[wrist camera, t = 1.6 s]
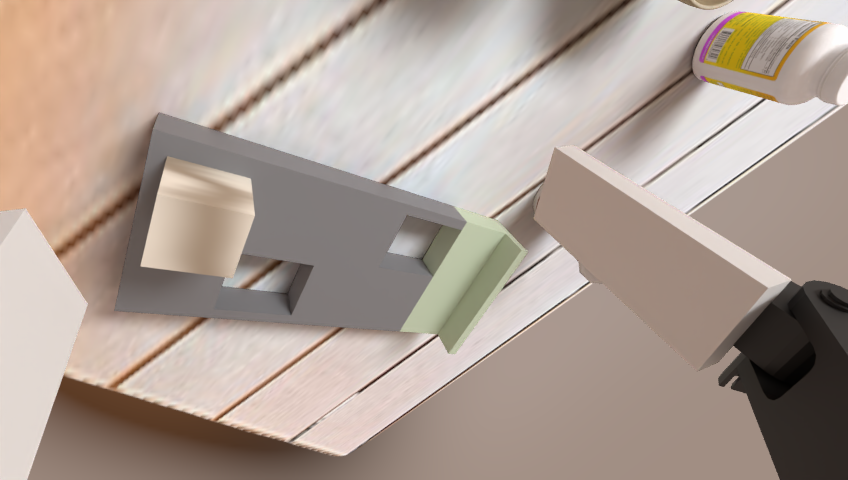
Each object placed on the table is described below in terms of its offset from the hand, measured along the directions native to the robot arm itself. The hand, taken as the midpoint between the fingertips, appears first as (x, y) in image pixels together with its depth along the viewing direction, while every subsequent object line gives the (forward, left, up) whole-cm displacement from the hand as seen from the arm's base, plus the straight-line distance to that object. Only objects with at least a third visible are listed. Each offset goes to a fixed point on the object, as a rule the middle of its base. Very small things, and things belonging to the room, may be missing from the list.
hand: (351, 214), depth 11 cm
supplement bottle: (+39, +19, -21) cm, 49 cm away
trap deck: (+10, -14, -21) cm, 27 cm away
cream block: (-2, -11, -18) cm, 21 cm away
